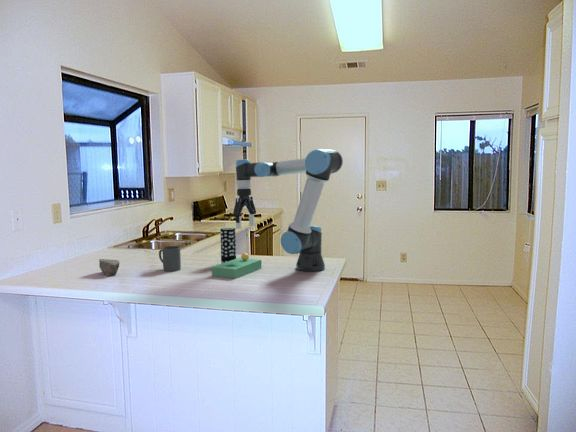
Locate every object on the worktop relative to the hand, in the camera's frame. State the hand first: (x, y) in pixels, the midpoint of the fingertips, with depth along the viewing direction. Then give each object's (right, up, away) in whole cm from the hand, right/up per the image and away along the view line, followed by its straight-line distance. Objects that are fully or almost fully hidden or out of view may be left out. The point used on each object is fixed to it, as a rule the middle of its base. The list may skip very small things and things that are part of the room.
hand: (245, 227), depth 249 cm
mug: (-41, -22, -4) cm, 46 cm away
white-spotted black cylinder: (-10, -21, +7) cm, 24 cm away
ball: (0, -15, -6) cm, 16 cm away
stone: (-69, -24, -14) cm, 74 cm away
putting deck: (-3, -23, -12) cm, 26 cm away
